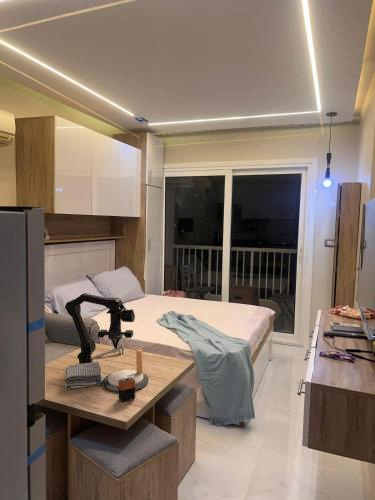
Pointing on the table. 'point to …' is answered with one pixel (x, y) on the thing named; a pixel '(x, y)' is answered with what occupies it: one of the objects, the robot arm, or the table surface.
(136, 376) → the dial
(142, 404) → the table surface
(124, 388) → the battery
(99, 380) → the towel
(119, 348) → the caliper
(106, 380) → the dial plate
